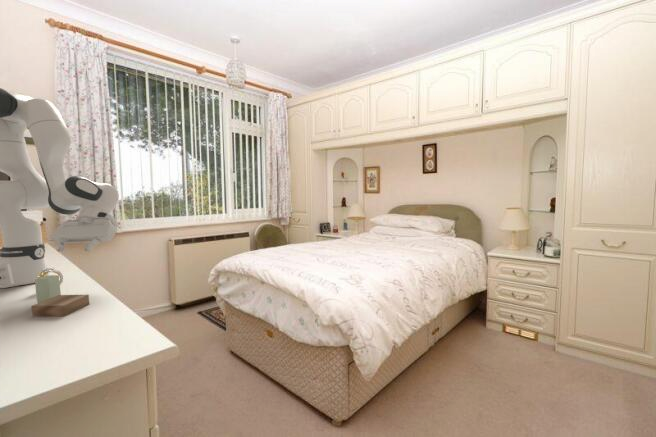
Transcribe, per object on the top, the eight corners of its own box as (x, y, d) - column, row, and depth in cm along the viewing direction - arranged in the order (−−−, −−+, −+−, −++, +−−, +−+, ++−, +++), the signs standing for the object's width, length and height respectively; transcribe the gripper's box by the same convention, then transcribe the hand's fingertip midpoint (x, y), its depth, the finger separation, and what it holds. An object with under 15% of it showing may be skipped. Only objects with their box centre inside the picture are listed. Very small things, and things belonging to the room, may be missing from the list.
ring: (38, 293, 107) (36, 270, 107) (37, 291, 109) (34, 269, 109) (65, 288, 113) (62, 266, 112) (62, 286, 115) (60, 265, 114)
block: (37, 304, 97) (34, 279, 96) (48, 299, 101) (46, 275, 100) (50, 304, 97) (47, 278, 96) (61, 299, 101) (58, 275, 100)
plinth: (32, 316, 88) (31, 305, 87) (60, 304, 97) (59, 295, 96) (64, 315, 88) (63, 305, 87) (89, 304, 97) (88, 294, 96)
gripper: (58, 215, 115) (36, 246, 106) (114, 213, 115) (97, 244, 106) (69, 225, 120) (49, 256, 111) (123, 224, 120) (107, 255, 111)
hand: (73, 250), depth 108 cm, fingers open, 8 cm apart
